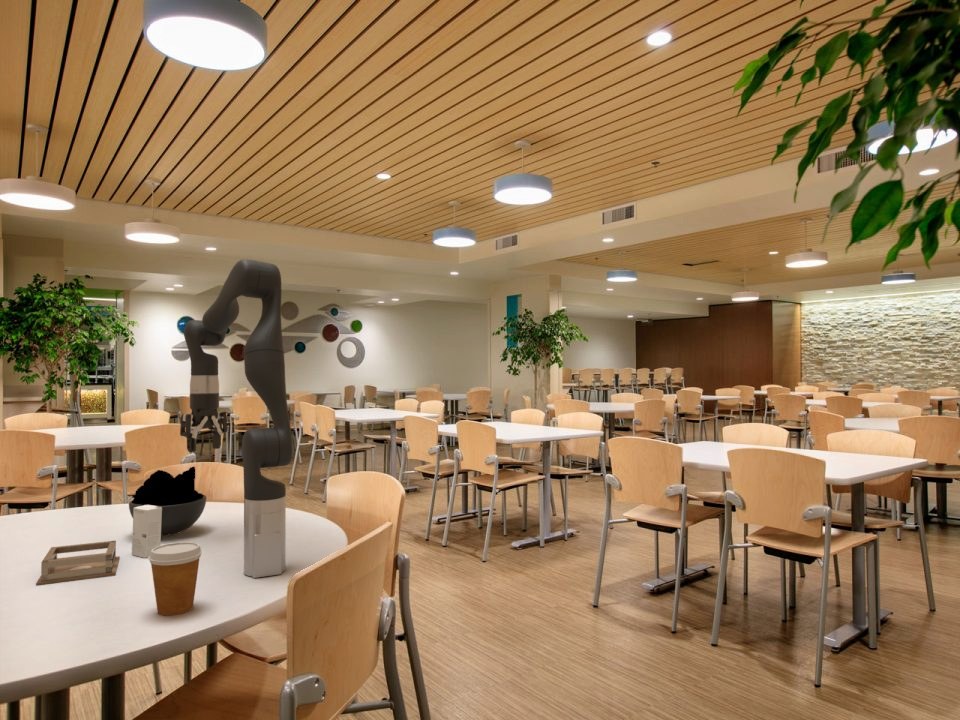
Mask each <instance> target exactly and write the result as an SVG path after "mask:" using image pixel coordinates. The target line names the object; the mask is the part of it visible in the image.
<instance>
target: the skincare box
mask: <svg viewBox="0 0 960 720" xmlns="http://www.w3.org/2000/svg"><path fill="white" fill-rule="evenodd" d="M161 520H162V507H157V506H153V505H143V506H139V507H134V509H133V518H132V536H131V537H132V538H131V540H132V541H131V555H133V556H136V557H139V558H143V559H146V558H147V559H148V557H149V556H150V553H151V550H152V549H153V548H155V547H157V546H161V544H162V543H161V542H162V541H161V537H162V535H161Z"/></svg>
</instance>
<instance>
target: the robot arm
mask: <svg viewBox="0 0 960 720" xmlns="http://www.w3.org/2000/svg"><path fill="white" fill-rule="evenodd" d="M241 296H243V297H245V298H253V299H260V300H261V305H262V309H261V317H260V319H259V321H258V323H257V324H256V326H255V328H254V329H253V331H252V332H251V334H250V335H249V337H248V339H247V340H246V343H245V345H244V347H243V361H244V364H243V365H244V375H245V377H246V380H247V382H248V383H249V384H250V386H251V387H252V389H253V390H254V391H255V393H256V394H257V395H258V397H259V398H260V399H261V400H262V402H263V403H264V405H265V406H266V408H267V410H268V412H269V414H270V417H271V420H272V425H273V427H261V428H249V429H247V430H245V432H244V434H243V437H242V442H241V443H242V447H241V448H242V452H241V453H242V463H243V464H242V465H243V466H242V467H243V468H242V469H243V494H244V495H243V497H244V498H243V574H244V575H245V576H248V577H252V578H253V579H256V578H263V577H269V576H276V575H277V576H278V575H282V573H283V572H284V571H285V570H286V562H287V561H286V560H287V558H286V556H287V555H286V534H287V532H286V530H287V529H286V528H287V527H286V522H287V518H286V508H287V507H286V505H287V504H286V503H287V502H286V501H287V498H286V497H287V496H286V494H287V493H286V490H287V489H286V485H285V483H284V482H282V481H278V480H274V479H270V478H268V477H266V476H264V475H263V474H262V472H261V469H263V468H274V467H275V468H276V467H277V468H278V467H286V466H288V465H290V464H291V462H292V460H293V457H294V456H293V453H294V452H293V451H294V445H293V434H292V427H291V421H290V415H289V409H288V401H287V400H288V399H287V386H286V384H287V383H286V367H285V366H286V364H285V363H286V362H285V352H284V343H283V330H282V329H283V327H282V275H281V271H280V269H279V267H278V266H277V265H276V264H274V263H270V262H265V261H260V260H254V259H248V258H247V259H245V258H243V259H240V260H238V261H237V262H236V263H235V264H234V265H233V267H231V269H230V272H229V274H228V275H227V278H226V279H225V281H224V283H223V286H222V288H221V290H220V291H219V294H218V296H217V298H216V300H214V301H213V303H212V304H211V305H210V306H209V307H208V308H207V310H206V311H205V312H204V314H203V315H202V318H201V319H200V320H199V319H192V320H189V321H188V322H187V323H186V324H185V326H184V329H183V337H184V339H185V343H186V347H187V351H188V354H189V358H190V379H189V380H190V381H189V382H190V383H189V409H190V410H191V413H182V414H180V428H179V435H180V436H181V437H184V438H186V450H187V452H189V453H195V452H196V451H197V438H196V436H197V435H198V434H199V432H201V431H202V430H203V429H204V430H205V429H208V430H210V431H211V433H212V437H211V438H212V449H215V450H216V449H217V450H220V449H221V445H222V435H223V434H225V433H227V432H228V420H227V419H228V418H227V412H226V411H218V409H219V408H220V381H219V358H218V356H217V355H214V354H211V353H206V352H205V351H204V350H203V348H202V346H205V347H206V346H208V347H209V346H210V347H215V346H216V347H217V346H219V345H221V344H223V342H224V341H225V338H226V334H227V331H228V329H229V328H230V327H231V326H232V325H233V324H234V322H235V321H236V320H237V318H238V316H239V314H240V304H239V301H238V299H237V298H239V297H241Z"/></svg>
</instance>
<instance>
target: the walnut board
mask: <svg viewBox="0 0 960 720" xmlns="http://www.w3.org/2000/svg"><path fill="white" fill-rule="evenodd" d="M120 559H121V557H120V555H119V556H118V555H117V556H116V558H115V562H114V566H113V569H112V573H105V574H97V575H89V576H81V577H73V578H65V579H57V580H49V581H41V575H40V576H39V578H38V580H37V581H36V582H35V586H41V585H51V584H57V583H58V584H59V583H65V582H74V581H81V580H89V579H97V578H98V579H100V578H105V577H113V576H116V575H117V574H116V573H117V570H118V567H119V562H120ZM101 566H106V561H102V562H94V563H85V564H77V565H68V566H60V567H55V569H54V571H53V572H59V571H68V570H76V569H84V568H92V567H101Z"/></svg>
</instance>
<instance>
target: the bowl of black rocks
mask: <svg viewBox="0 0 960 720" xmlns="http://www.w3.org/2000/svg"><path fill="white" fill-rule="evenodd" d="M195 480H196V467H195V466H191V467H189V468H188V469H187V470H185V471H182V473H178V474H177V475H176V476H175V477H174V475H172V474H171V473H170V472H168V471H165V470H162V469H161V470H160V469H158V470H156V471H154V472H153V473H152V474H150V475H149V477H148V478H146V480H144V482H143V484H142V485H140V486H139V487H138V488H137V489H136V490H135V494H134V497H133V499H132V500H130V501H129V503H128V509H129V513H130V515H131V517H132V519H133V509H134V507H139V506H143V505H153V506H157V507H162V520H161V536H173V535H177V534H179V533H181V532H184V531H186V530H188V529H189V528H190V527H192V526H193V525H194V524H195V523H196V522H197V521H199V518H200V517H201V516H202V514H203V512H204V509H205V508H206V504H207V495H205V494H203V493H200V492H198V490H196V488H195V485H196V484H195V483H196V482H195Z"/></svg>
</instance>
